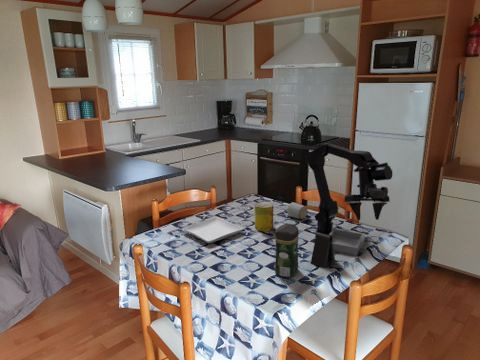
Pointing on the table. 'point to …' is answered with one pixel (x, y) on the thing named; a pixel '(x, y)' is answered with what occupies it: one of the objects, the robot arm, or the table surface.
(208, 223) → the salad plate
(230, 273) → the table surface
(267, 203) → the yellow green jar
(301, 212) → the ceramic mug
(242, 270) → the table surface
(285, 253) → the coffee jar
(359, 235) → the box
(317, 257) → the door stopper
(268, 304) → the table surface
